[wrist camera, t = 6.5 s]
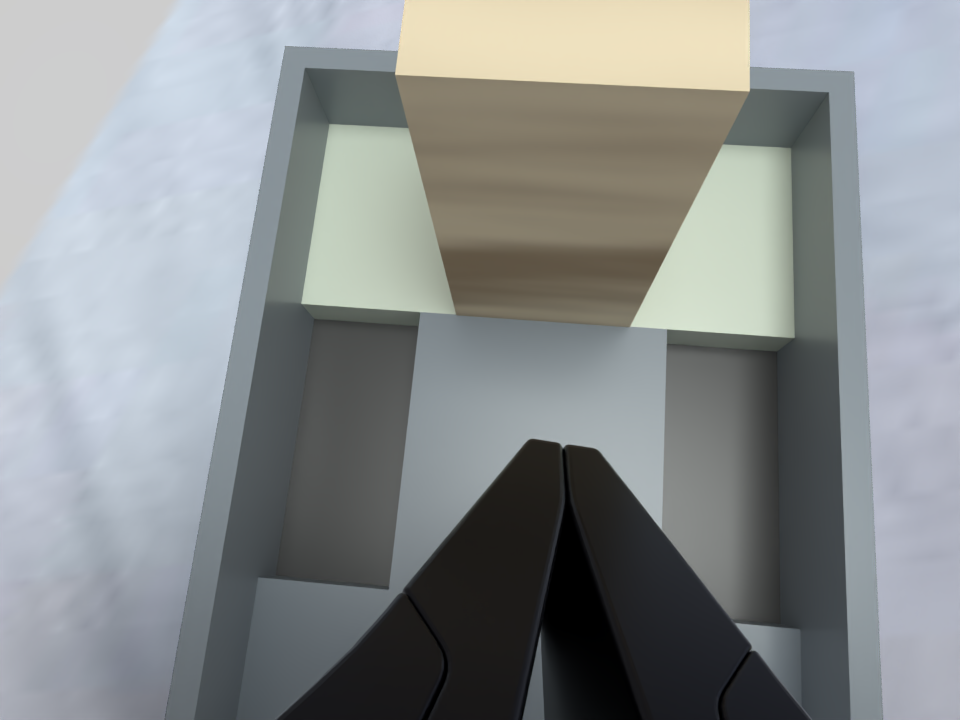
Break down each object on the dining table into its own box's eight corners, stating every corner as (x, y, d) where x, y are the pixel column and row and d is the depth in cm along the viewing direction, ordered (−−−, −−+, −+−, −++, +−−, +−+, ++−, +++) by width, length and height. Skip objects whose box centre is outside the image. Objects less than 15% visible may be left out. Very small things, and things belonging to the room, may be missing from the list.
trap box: (807, 852, 17) (893, 941, 13) (222, 784, 18) (141, 848, 14) (793, 157, 21) (854, 71, 18) (325, 133, 22) (285, 46, 19)
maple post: (629, 326, 19) (750, 91, 9) (456, 315, 19) (395, 74, 9) (635, 170, 20) (749, -190, 10) (471, 161, 20) (430, -196, 11)
